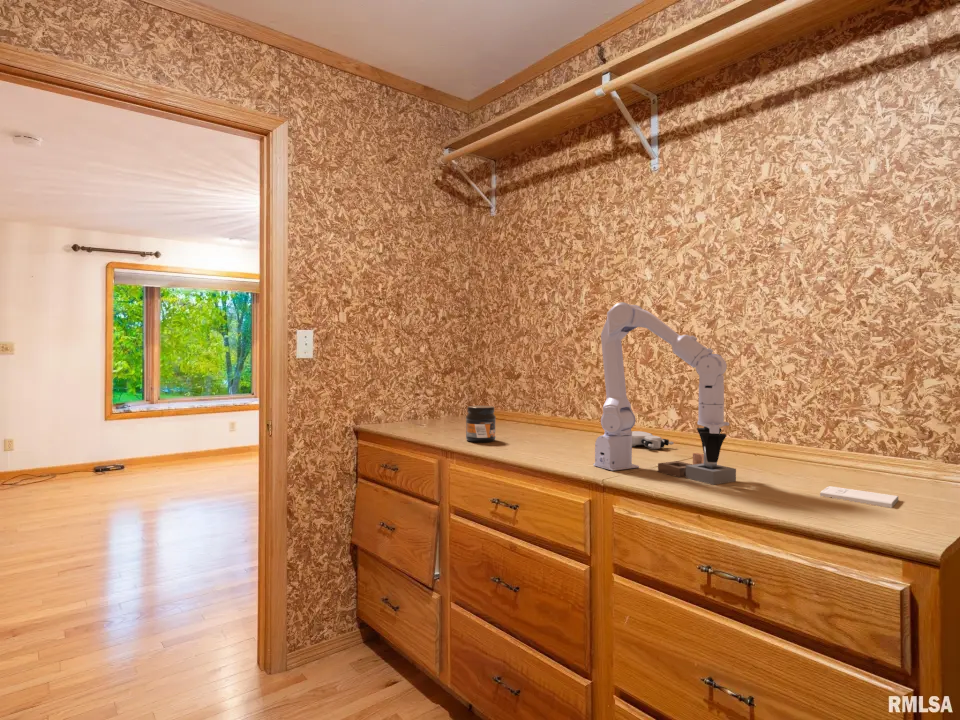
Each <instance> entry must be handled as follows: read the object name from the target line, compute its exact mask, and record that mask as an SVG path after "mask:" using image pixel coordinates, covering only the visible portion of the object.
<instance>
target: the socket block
mask: <svg viewBox="0 0 960 720" xmlns="http://www.w3.org/2000/svg"><path fill="white" fill-rule="evenodd" d="M687 465H693V463H687V462H684V461H679V460H674V461H666V462H665V461H664V462H658V463H657V472H658V473H662V474H665V475H668V476H673V477H678V478H684V477H685V478H686V466H687Z"/></svg>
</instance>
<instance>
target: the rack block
mask: <svg viewBox="0 0 960 720" xmlns="http://www.w3.org/2000/svg"><path fill="white" fill-rule="evenodd" d="M685 478H686V479H690V480H693V481H696V482H697V481H698V482H701V483H704V484H710V485H712V486H714V485H720V484H727V483H734V482H736V481H737V468H734V467H730V466H726V465H725V466H724V465H720V464H717V469H714V470H711V469H706V468H704V463H702V464H694V465H687V466H686V476H685Z"/></svg>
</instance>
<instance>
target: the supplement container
mask: <svg viewBox="0 0 960 720" xmlns="http://www.w3.org/2000/svg"><path fill="white" fill-rule="evenodd" d="M466 409H467V414H466V415H465V423H466V424H465V425H466V426H465V429H466V430H465V439H466V440H467V441H468V442H470V443H478V444H479V443H480V444H481V443H482V444H483V443H484V444H486V443H492V442H494V441H495V440H496V438H497V437H496V436H497V435H496V419H497V416H496V415H495V406H493V405H469V406H467V408H466Z"/></svg>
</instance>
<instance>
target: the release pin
mask: <svg viewBox="0 0 960 720" xmlns="http://www.w3.org/2000/svg"><path fill="white" fill-rule="evenodd" d="M702 463H704V453H698V452H693V453H692V464H693V465H694V464H702Z"/></svg>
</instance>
